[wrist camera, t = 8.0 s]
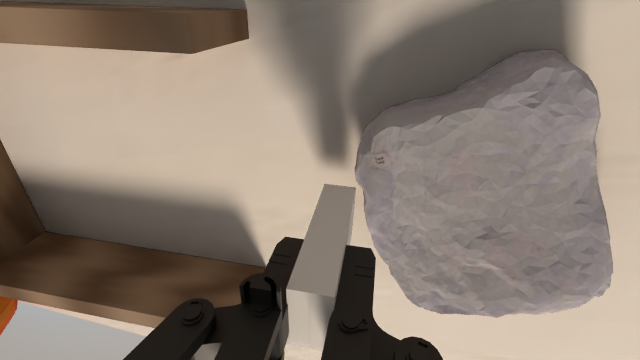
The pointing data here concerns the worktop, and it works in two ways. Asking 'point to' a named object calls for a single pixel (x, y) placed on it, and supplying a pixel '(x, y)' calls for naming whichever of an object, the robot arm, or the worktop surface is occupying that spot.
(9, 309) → the apple
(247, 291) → the robot arm
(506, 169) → the stone block
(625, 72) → the worktop surface
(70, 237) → the cubby
